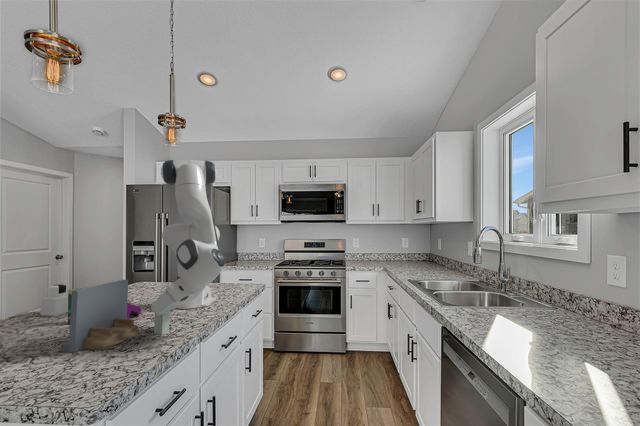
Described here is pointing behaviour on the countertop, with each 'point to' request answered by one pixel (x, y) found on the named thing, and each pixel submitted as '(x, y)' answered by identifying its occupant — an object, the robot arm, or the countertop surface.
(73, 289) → the coffee box
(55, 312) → the medicine bottle
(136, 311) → the mounting bracket
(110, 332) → the cleat ledge
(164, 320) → the cabinet block
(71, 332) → the wall board
